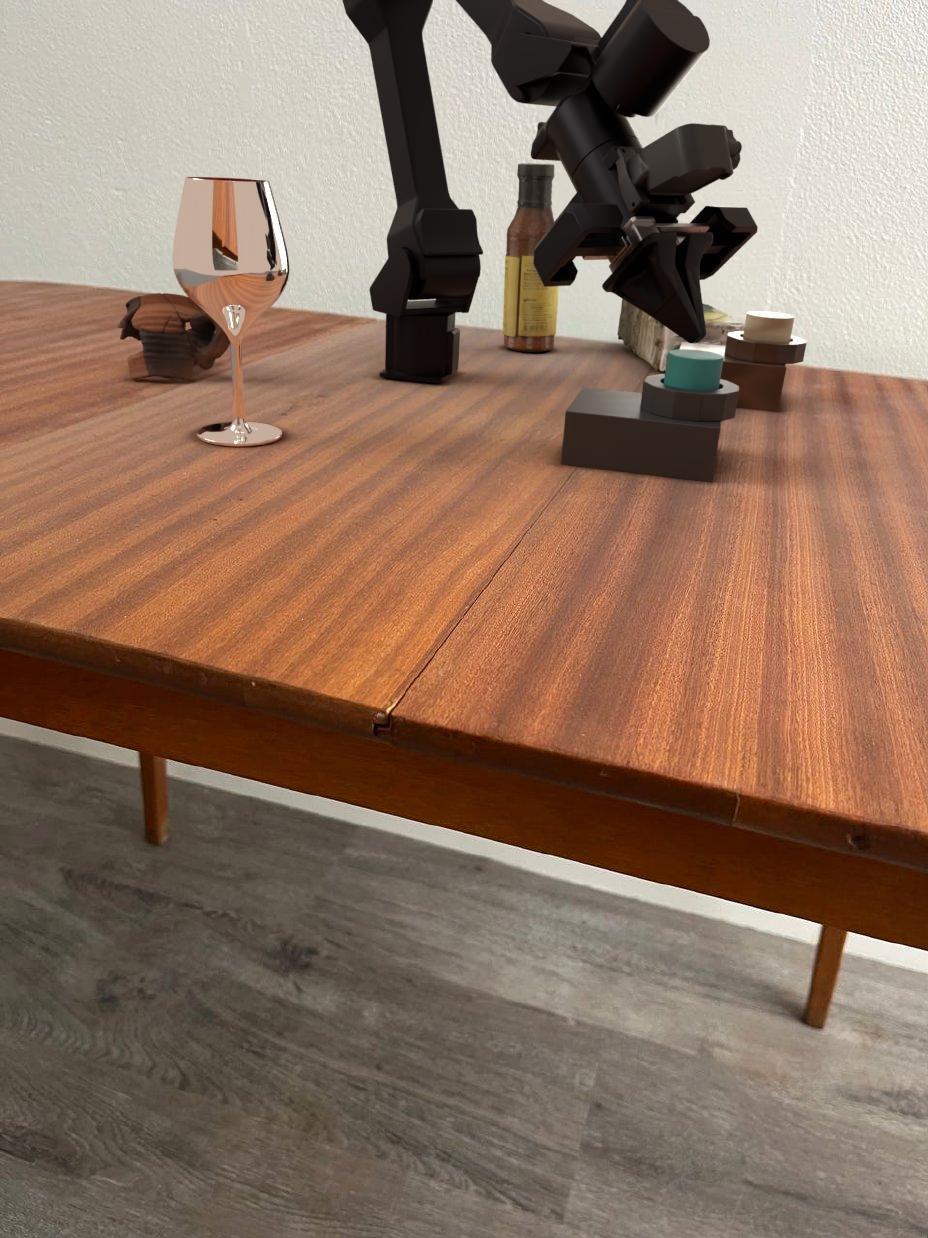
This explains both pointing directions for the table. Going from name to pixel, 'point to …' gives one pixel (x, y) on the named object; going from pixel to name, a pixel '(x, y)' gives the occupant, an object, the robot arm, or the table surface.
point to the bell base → (755, 367)
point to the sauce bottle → (529, 265)
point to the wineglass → (231, 275)
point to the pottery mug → (171, 336)
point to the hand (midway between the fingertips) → (698, 339)
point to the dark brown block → (648, 429)
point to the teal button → (693, 369)
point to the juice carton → (668, 333)
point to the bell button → (768, 326)
